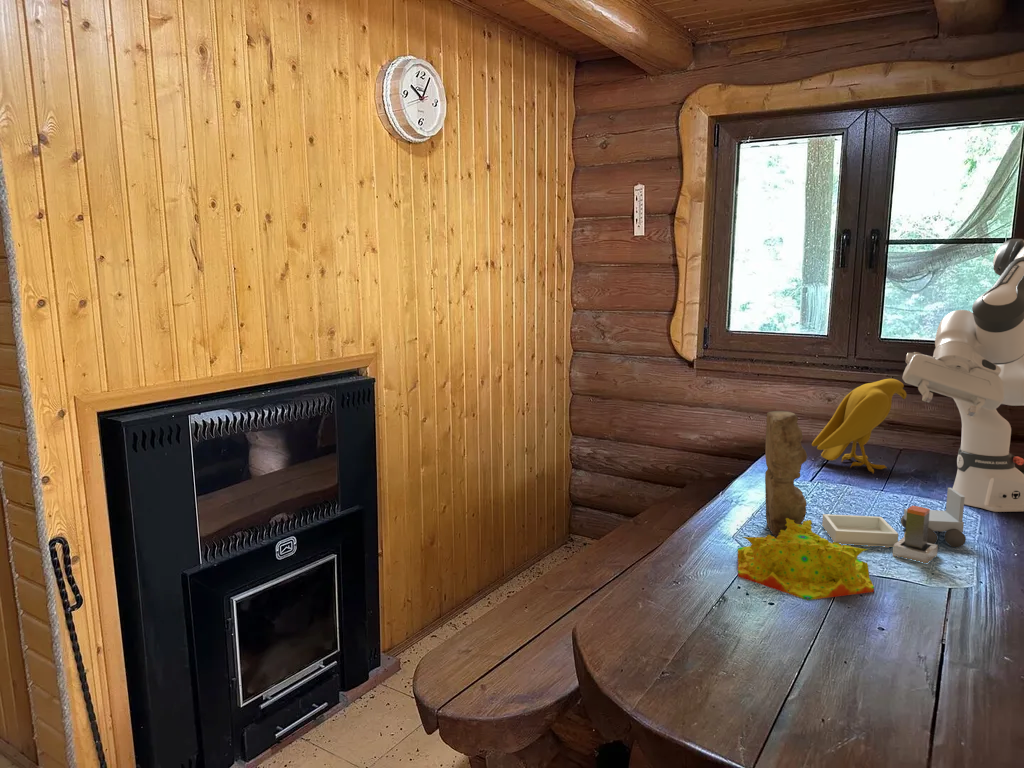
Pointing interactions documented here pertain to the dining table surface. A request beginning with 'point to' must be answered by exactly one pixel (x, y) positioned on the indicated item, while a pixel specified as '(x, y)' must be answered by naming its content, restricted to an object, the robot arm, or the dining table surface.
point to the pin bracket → (915, 552)
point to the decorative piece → (804, 564)
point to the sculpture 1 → (783, 470)
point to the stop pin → (917, 528)
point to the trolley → (946, 521)
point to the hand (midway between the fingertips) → (949, 407)
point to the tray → (859, 530)
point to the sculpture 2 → (858, 421)
